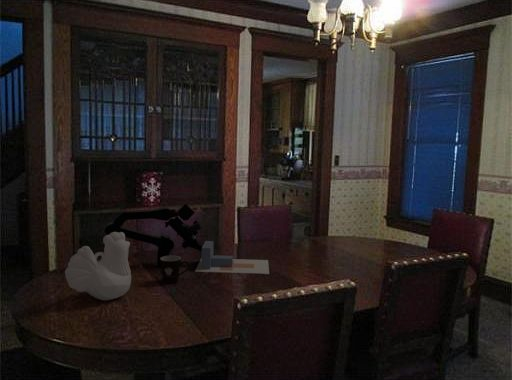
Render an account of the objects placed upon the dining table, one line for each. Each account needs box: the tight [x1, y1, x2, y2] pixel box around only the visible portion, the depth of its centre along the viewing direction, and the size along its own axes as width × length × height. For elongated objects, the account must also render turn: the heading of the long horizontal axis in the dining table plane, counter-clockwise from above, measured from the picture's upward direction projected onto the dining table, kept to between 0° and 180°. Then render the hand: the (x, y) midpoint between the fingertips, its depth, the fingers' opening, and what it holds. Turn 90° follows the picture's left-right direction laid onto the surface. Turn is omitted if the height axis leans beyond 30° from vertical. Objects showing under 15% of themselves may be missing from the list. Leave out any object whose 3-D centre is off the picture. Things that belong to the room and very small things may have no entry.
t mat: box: [194, 257, 270, 275], centre depth 205 cm, size 34×22×1 cm, turn 90°
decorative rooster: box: [64, 232, 132, 301], centre depth 159 cm, size 25×16×25 cm, turn 127°
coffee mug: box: [160, 255, 190, 285], centre depth 180 cm, size 12×9×10 cm
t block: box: [201, 240, 234, 269], centre depth 205 cm, size 14×14×10 cm
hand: (203, 250), depth 205 cm, fingers closed, pressing on t block
